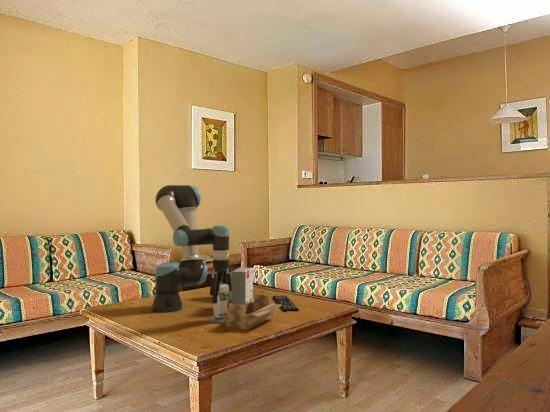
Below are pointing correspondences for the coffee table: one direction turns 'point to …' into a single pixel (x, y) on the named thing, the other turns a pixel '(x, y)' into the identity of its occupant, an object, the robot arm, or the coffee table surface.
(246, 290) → the hard drive box
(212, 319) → the plate
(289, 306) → the remote control
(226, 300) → the syrup box
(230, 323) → the light wood open box
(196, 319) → the coffee table surface
